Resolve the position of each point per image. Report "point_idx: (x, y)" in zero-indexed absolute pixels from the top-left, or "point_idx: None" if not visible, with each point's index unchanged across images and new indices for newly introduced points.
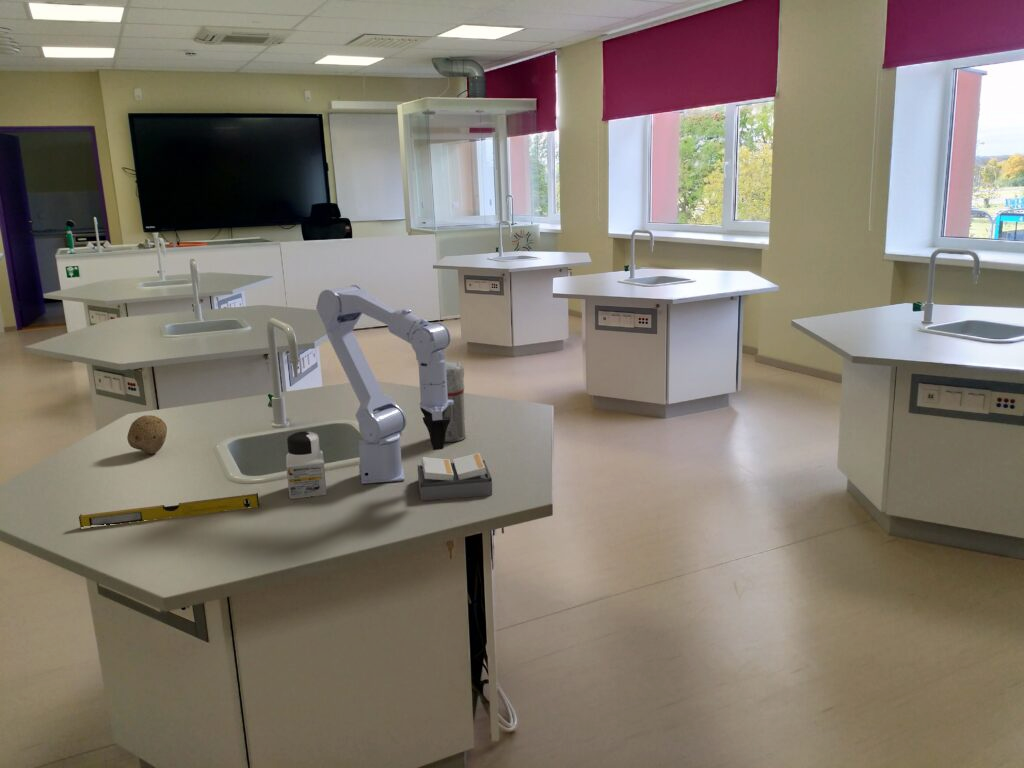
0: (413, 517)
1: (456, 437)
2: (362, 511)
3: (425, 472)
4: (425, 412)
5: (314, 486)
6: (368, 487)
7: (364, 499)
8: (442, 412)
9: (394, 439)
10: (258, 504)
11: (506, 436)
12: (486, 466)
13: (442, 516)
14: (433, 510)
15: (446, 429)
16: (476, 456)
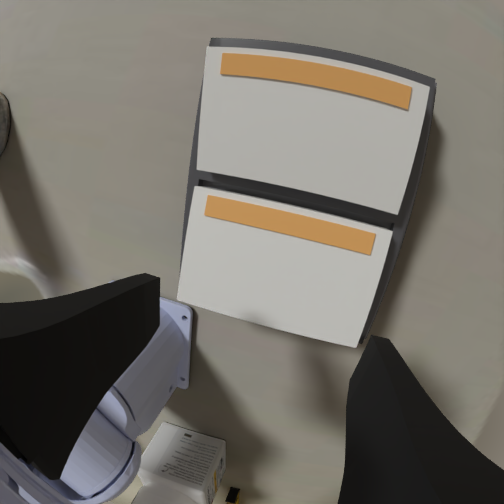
0: (443, 354)
1: (2, 114)
2: (342, 424)
3: (355, 347)
4: (59, 451)
5: (220, 465)
6: (208, 382)
7: (278, 408)
8: (20, 354)
9: (108, 393)
10: (238, 492)
11: (26, 8)
12: (288, 43)
13: (483, 293)
14: (440, 303)
15: (468, 441)
16: (250, 67)
